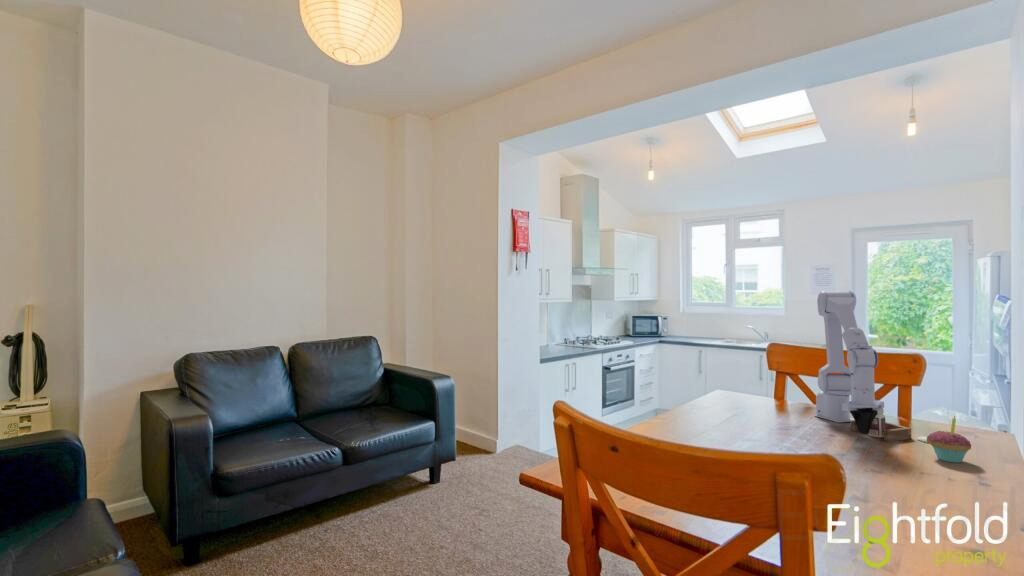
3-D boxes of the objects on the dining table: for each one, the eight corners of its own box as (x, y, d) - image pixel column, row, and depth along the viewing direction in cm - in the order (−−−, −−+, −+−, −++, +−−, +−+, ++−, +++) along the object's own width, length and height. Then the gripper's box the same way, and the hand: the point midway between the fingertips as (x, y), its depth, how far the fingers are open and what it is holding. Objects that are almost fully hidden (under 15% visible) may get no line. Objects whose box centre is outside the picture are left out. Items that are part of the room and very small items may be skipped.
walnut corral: (850, 430, 148) (850, 421, 149) (872, 428, 151) (872, 418, 151) (888, 441, 138) (887, 431, 138) (911, 438, 140) (911, 428, 140)
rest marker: (911, 438, 140) (911, 437, 140) (926, 437, 141) (926, 436, 141) (934, 445, 134) (934, 444, 134) (949, 443, 135) (949, 442, 135)
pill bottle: (879, 433, 146) (878, 405, 146) (889, 437, 141) (888, 409, 141) (862, 432, 146) (861, 405, 146) (872, 437, 142) (871, 409, 142)
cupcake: (981, 465, 118) (980, 417, 118) (947, 465, 119) (946, 418, 119) (950, 453, 127) (949, 409, 127) (918, 453, 127) (917, 409, 127)
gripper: (857, 392, 137) (858, 439, 137) (894, 389, 141) (895, 434, 140) (834, 388, 143) (835, 432, 143) (870, 384, 147) (871, 428, 147)
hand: (863, 433), depth 142 cm, fingers closed
